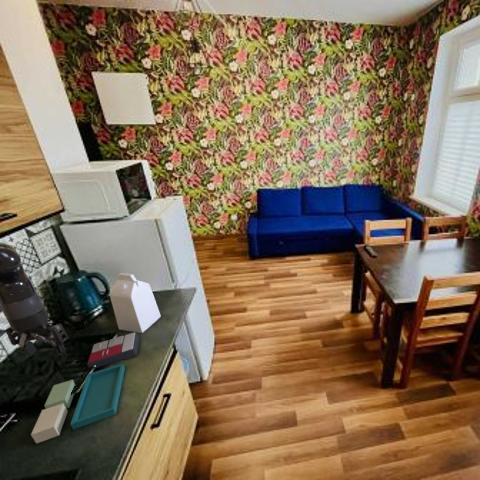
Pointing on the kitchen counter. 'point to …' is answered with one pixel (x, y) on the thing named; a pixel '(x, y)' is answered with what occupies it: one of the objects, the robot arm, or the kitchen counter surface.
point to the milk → (133, 304)
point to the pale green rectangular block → (61, 394)
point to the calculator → (114, 350)
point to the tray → (99, 396)
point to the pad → (49, 423)
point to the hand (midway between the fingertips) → (46, 353)
